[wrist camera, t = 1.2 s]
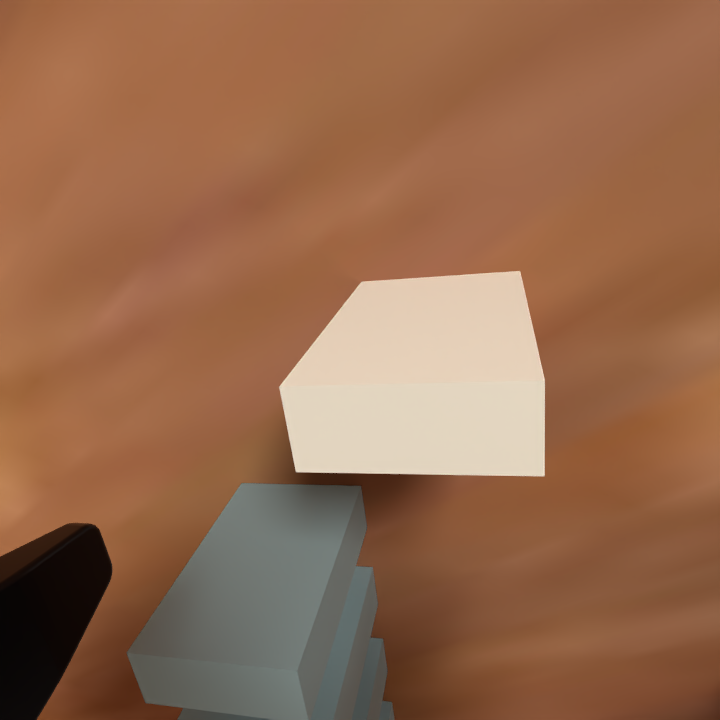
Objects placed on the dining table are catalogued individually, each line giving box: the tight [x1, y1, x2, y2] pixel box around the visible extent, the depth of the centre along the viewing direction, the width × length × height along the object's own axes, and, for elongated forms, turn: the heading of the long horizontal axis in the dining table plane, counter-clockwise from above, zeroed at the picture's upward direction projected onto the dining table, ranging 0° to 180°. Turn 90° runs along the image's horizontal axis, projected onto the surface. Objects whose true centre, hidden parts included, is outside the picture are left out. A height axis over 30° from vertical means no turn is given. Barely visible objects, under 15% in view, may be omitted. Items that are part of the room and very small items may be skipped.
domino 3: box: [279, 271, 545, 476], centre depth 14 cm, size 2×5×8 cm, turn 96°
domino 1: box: [127, 483, 367, 720], centre depth 19 cm, size 2×5×8 cm, turn 96°
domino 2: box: [177, 566, 378, 720], centre depth 20 cm, size 2×5×8 cm, turn 96°
